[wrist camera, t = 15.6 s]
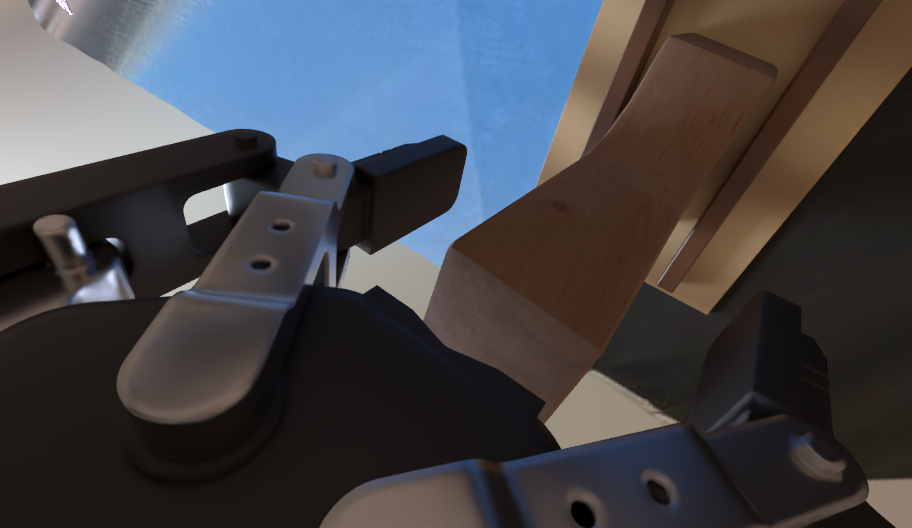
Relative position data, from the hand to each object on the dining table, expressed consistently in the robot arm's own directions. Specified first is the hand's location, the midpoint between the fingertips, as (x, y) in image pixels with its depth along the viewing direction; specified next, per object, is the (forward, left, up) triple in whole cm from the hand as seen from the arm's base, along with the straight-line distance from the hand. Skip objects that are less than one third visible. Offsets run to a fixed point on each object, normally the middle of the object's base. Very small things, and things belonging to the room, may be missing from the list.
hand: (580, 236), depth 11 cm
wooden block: (+1, 0, -16) cm, 16 cm away
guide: (0, 0, -16) cm, 16 cm away
